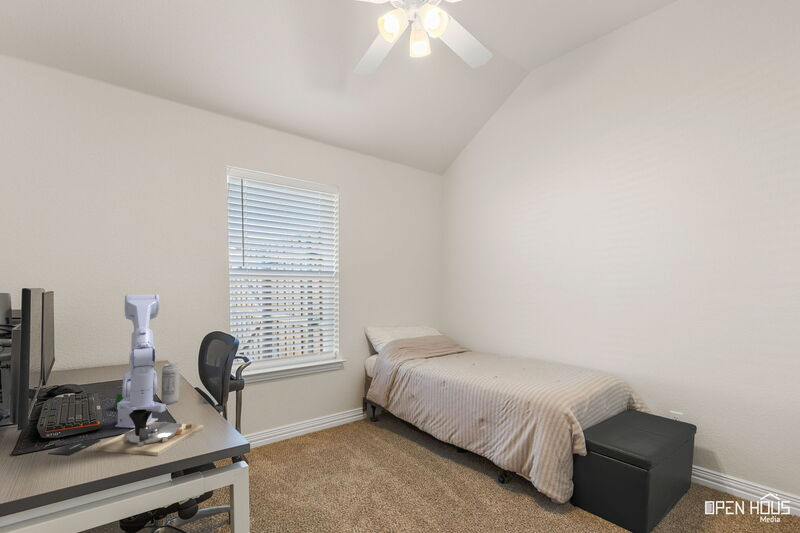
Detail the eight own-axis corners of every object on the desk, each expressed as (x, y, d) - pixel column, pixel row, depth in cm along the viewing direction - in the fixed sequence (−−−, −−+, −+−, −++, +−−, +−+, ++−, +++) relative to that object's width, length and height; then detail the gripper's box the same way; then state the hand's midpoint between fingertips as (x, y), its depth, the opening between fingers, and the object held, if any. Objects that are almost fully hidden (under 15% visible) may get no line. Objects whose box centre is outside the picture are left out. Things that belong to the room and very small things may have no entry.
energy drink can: (182, 400, 158) (182, 363, 158) (172, 405, 152) (172, 366, 152) (168, 399, 159) (169, 362, 159) (157, 404, 153) (158, 365, 153)
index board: (95, 450, 112) (95, 442, 112) (149, 424, 132) (149, 418, 132) (158, 455, 110) (158, 447, 110) (203, 428, 129) (203, 421, 129)
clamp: (146, 419, 149) (159, 396, 151) (133, 420, 143) (147, 397, 145) (122, 404, 152) (135, 382, 153) (110, 405, 146) (123, 383, 148)
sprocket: (110, 447, 112) (110, 431, 112) (138, 425, 128) (139, 412, 128) (170, 443, 114) (170, 428, 114) (191, 423, 130) (191, 409, 130)
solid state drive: (101, 442, 119) (101, 439, 119) (68, 457, 109) (69, 454, 109) (81, 440, 120) (81, 438, 120) (47, 455, 110) (47, 452, 110)
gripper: (108, 391, 113) (107, 438, 113) (153, 394, 111) (152, 442, 111) (128, 384, 120) (127, 429, 120) (171, 387, 118) (170, 432, 118)
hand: (140, 434), depth 116 cm, fingers closed, pressing on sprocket
